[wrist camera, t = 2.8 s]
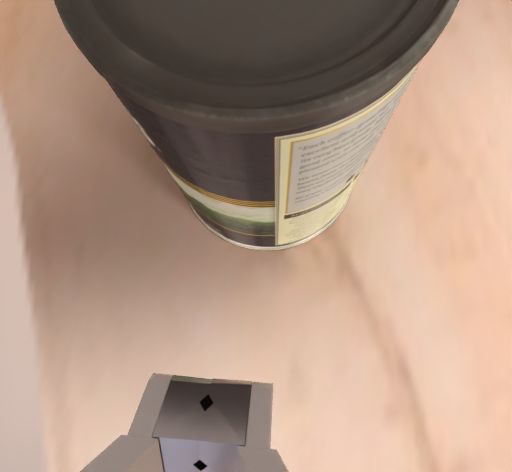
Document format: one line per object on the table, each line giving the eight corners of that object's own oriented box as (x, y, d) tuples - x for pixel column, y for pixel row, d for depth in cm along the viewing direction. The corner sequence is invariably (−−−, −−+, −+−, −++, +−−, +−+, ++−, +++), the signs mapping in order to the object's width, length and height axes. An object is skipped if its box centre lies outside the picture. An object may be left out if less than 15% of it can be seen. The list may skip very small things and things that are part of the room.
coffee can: (186, 261, 22) (32, 140, 8) (179, 100, 24) (55, -195, 11) (369, 244, 22) (527, 87, 8) (343, 83, 24) (428, -245, 10)
